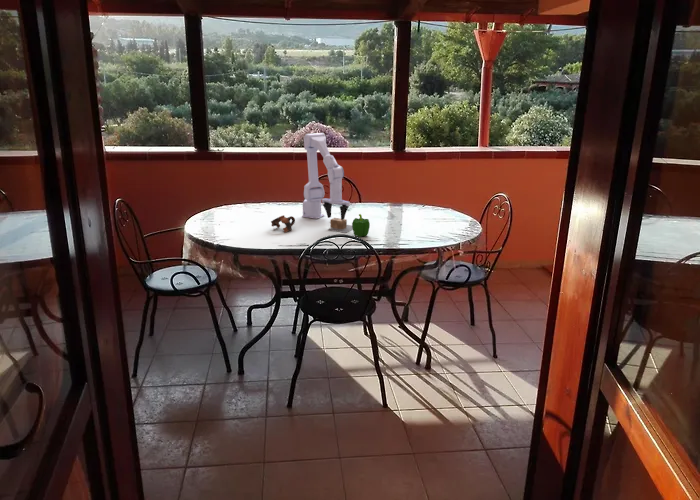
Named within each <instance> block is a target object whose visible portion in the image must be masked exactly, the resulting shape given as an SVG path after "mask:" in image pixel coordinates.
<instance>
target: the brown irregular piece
mask: <svg viewBox="0 0 700 500" xmlns="http://www.w3.org/2000/svg"><path fill="white" fill-rule="evenodd" d="M295 222H296V218H295V217H294V216H289V217H286V216H285V215H281V216H279V217H277V218H274V219H272V220H271V221H270V223H271V227H276V228H280V227H281V224H280V223H282V224H284V227H283V228H282V230H283V232H284V233H287V232H290V231H292V228H293V225H295Z"/></svg>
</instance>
